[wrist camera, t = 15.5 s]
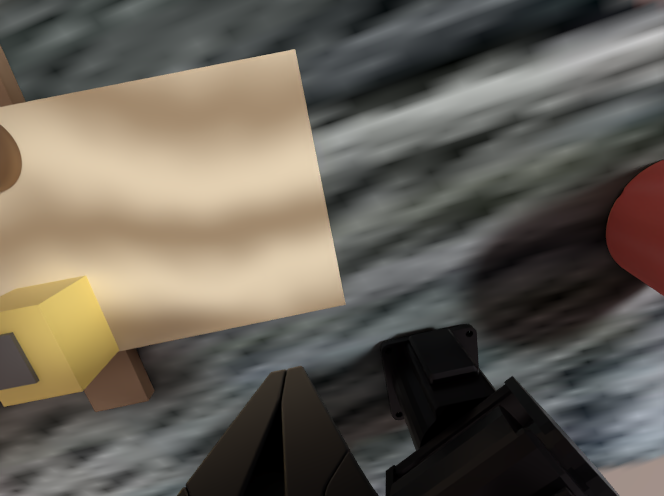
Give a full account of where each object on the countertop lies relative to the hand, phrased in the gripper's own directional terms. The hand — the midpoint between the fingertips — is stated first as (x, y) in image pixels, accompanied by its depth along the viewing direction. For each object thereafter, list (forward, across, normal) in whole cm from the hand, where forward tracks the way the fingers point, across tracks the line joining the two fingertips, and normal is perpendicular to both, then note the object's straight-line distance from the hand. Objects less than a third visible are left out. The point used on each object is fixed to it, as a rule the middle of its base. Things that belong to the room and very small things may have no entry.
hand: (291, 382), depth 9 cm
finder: (+11, +14, +1) cm, 18 cm away
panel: (+12, +11, -3) cm, 17 cm away
